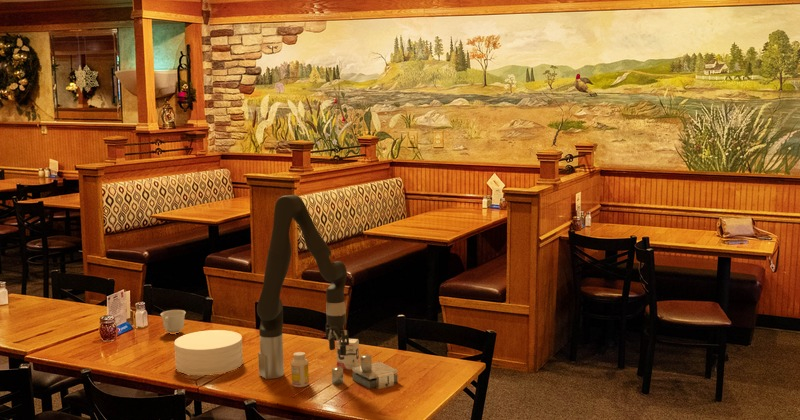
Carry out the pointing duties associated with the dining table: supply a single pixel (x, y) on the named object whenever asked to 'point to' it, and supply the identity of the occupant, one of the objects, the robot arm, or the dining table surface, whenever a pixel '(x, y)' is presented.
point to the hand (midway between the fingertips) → (337, 352)
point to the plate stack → (208, 352)
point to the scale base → (376, 380)
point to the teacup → (173, 320)
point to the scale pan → (375, 370)
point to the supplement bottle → (299, 370)
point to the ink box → (349, 355)
